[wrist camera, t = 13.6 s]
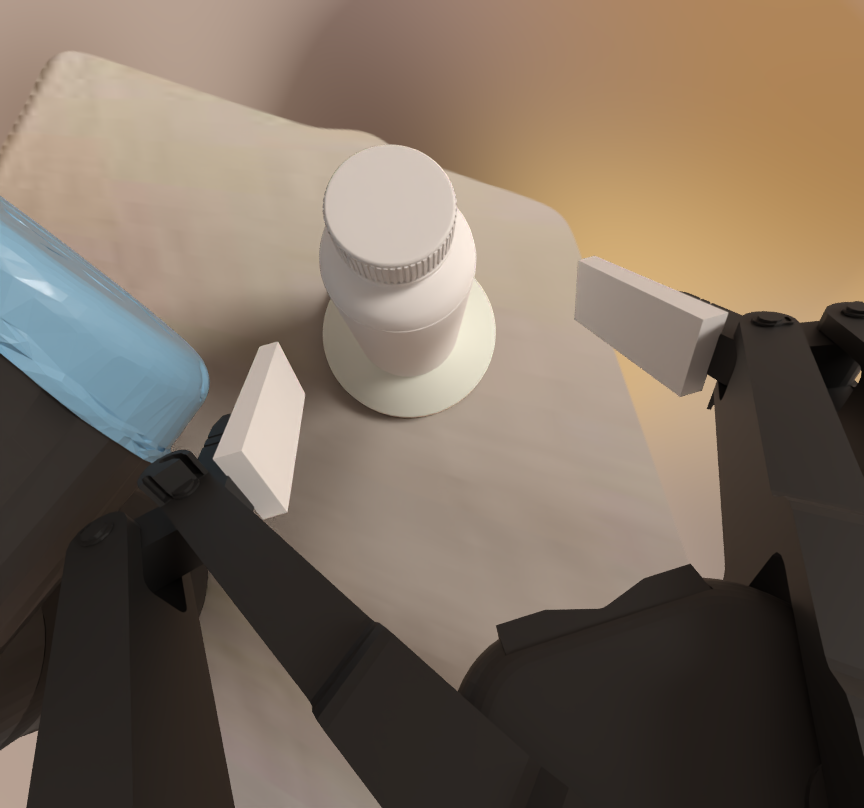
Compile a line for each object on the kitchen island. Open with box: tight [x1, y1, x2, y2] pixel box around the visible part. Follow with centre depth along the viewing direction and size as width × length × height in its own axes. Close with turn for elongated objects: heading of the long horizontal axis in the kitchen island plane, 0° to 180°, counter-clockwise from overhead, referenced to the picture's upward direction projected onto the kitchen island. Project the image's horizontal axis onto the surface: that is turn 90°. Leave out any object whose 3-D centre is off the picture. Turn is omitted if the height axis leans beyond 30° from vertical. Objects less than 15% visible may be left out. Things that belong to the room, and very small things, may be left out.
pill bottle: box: [319, 145, 476, 377], centre depth 21 cm, size 8×8×15 cm
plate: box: [323, 278, 496, 418], centre depth 29 cm, size 14×14×1 cm
